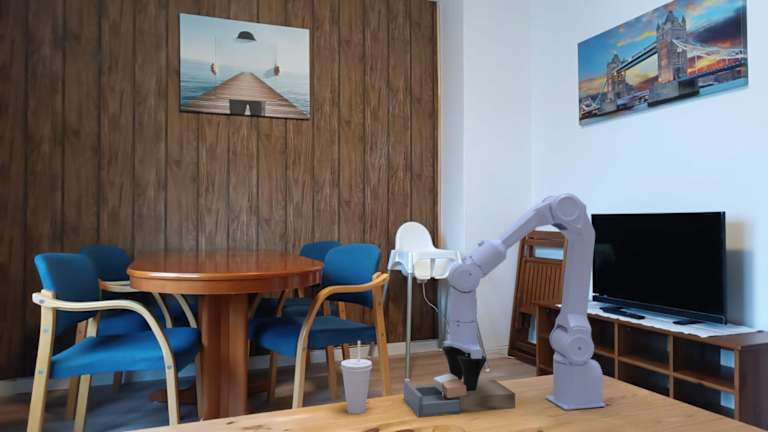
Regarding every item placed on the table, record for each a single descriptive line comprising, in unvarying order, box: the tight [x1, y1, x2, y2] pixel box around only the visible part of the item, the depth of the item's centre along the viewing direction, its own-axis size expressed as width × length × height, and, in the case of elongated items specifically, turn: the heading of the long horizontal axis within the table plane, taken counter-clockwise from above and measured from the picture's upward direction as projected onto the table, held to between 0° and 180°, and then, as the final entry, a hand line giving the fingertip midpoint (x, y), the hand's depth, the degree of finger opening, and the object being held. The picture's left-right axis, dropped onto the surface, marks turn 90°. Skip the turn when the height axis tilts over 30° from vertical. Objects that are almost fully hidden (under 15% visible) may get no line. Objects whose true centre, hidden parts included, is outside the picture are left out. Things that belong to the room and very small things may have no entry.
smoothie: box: [340, 340, 373, 415], centre depth 106 cm, size 6×6×14 cm
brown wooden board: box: [442, 379, 516, 414], centre depth 111 cm, size 12×10×3 cm
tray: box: [403, 379, 461, 418], centre depth 109 cm, size 8×11×4 cm
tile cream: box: [433, 372, 458, 393], centre depth 112 cm, size 4×4×2 cm
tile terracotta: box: [442, 380, 467, 398], centre depth 108 cm, size 4×4×2 cm
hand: (463, 385), depth 110 cm, fingers open, 7 cm apart
